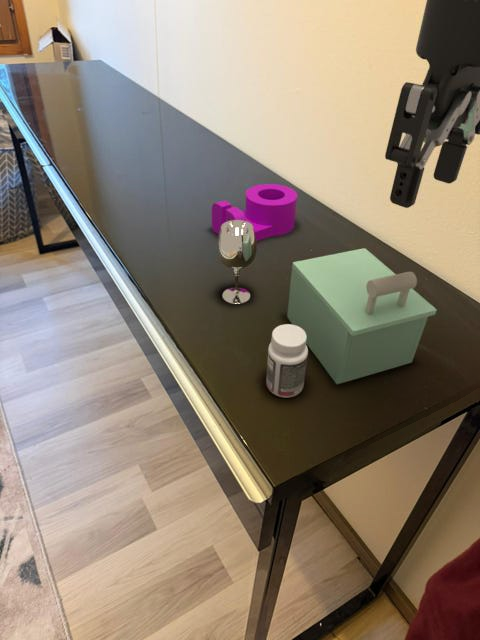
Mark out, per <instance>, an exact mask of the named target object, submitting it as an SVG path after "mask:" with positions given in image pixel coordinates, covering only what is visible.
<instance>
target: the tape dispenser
mask: <svg viewBox="0 0 480 640" xmlns="http://www.w3.org/2000/svg"><path fill="white" fill-rule="evenodd" d="M297 201H298V193H297V192H296V191H295V190H294V189H293V188H291V187H288V186H286V185H282V184H276V183H275V184H274V183H264V184H257V185H254V186H251V187H249V188H248V189H247V190H246V192H245V208H244V209H245V210H241V209H239V208H238V207H236V206H233V207H232V203H230V202H229V201H227V200H221V201H217V202H214V203H213V204H212V205H211V231H213V233H215V234H217V236H219V233H220V229H221V226H222V224H223V223H225V222H227V221H231V220H243V221H247V222H249V223H251V224H252V225H253V227H254V231H255V237H256V242H259V241H261V240H264V239H267V238H270V237H276V236H282V235H286V234H288V233H290V232H292V231H293V229H294V228H295V223H296V212H297Z"/></svg>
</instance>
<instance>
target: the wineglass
mask: <svg viewBox="0 0 480 640" xmlns="http://www.w3.org/2000/svg"><path fill="white" fill-rule="evenodd" d="M216 245H217V247H216V248H217V249H216V251H217V256H218V258H219V261H220V262H221V263H222V264H223V265H224V266H226V267H228V268H231V269H233V271H232V272H233V275H234V287H229V288H226V289H225V290H224V291H222V295H221V296H222V299H223V300H224V301H225V302H226V303H229V304H233V305H242V304H245V303H247V302H248V301H249V300H250V299H251V293H250V291H249V290H248V289H246V288H243V287H239V278H240V275H241V274H240V273H241V269H244V268H246V267H249V266H250V265H251V264H252V263H253V262H254V260H255V258H256V255H257V248H258V247H257V246H258V245H257V241H256V237H255V231H254V227H253V225H252V224H251V223H249V222H247V221H243V220H231V221H227V222H225V223H223V224H222V226H221V229H220V233H219V235H218V237H217V244H216Z"/></svg>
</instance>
